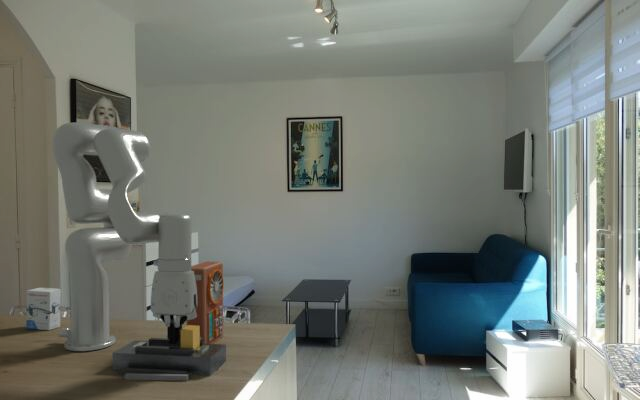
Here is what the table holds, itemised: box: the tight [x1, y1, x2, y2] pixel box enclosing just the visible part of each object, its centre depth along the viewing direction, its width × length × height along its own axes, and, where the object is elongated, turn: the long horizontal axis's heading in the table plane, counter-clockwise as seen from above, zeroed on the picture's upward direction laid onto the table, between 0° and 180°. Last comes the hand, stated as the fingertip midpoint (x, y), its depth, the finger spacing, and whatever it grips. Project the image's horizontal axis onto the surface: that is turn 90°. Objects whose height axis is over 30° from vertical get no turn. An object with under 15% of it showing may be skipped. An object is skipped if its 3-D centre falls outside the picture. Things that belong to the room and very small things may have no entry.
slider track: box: [112, 337, 227, 376], centre depth 121 cm, size 24×10×5 cm, turn 81°
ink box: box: [25, 287, 62, 331], centre depth 155 cm, size 9×5×12 cm, turn 77°
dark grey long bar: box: [117, 367, 187, 376], centre depth 114 cm, size 16×1×1 cm, turn 81°
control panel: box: [185, 260, 224, 344], centre depth 139 cm, size 21×7×15 cm
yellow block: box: [181, 325, 200, 350], centre depth 120 cm, size 3×4×5 cm
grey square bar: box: [124, 373, 189, 382], centre depth 112 cm, size 14×1×1 cm, turn 87°
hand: (174, 342), depth 121 cm, fingers closed
